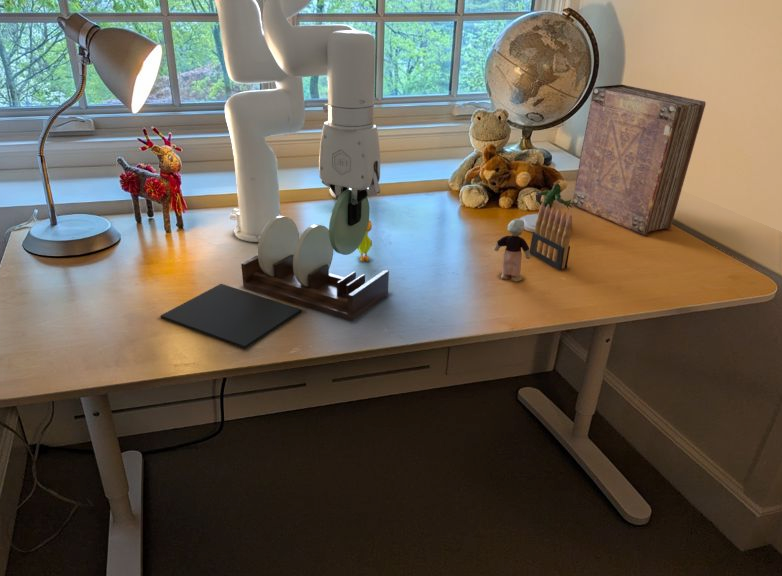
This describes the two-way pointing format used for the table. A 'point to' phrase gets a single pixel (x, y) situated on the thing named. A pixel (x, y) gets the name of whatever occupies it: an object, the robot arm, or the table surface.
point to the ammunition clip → (552, 237)
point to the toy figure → (365, 244)
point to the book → (636, 156)
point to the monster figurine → (550, 197)
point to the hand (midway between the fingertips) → (350, 222)
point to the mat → (232, 315)
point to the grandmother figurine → (513, 250)
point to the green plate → (340, 232)
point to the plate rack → (318, 288)
